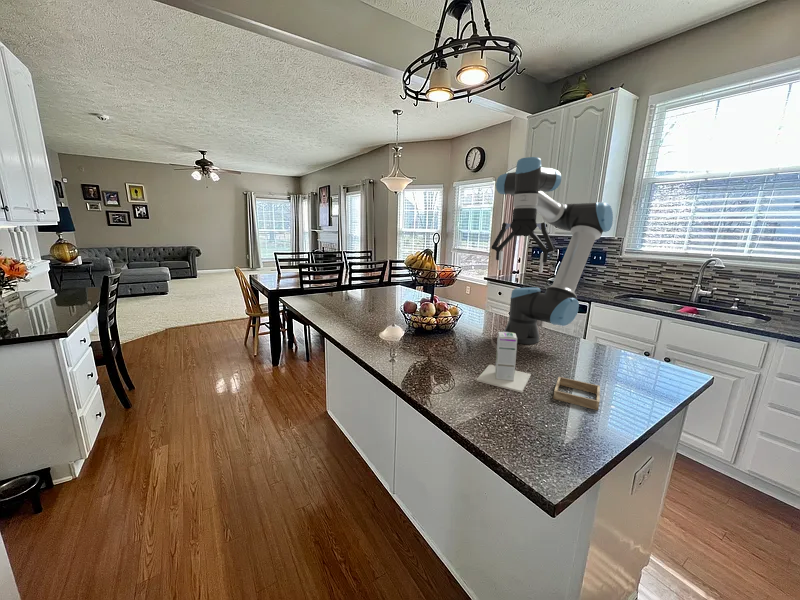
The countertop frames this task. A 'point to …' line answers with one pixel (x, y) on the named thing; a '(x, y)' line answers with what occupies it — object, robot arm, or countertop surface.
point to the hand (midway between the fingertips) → (519, 271)
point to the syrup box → (506, 356)
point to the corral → (574, 398)
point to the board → (516, 385)
